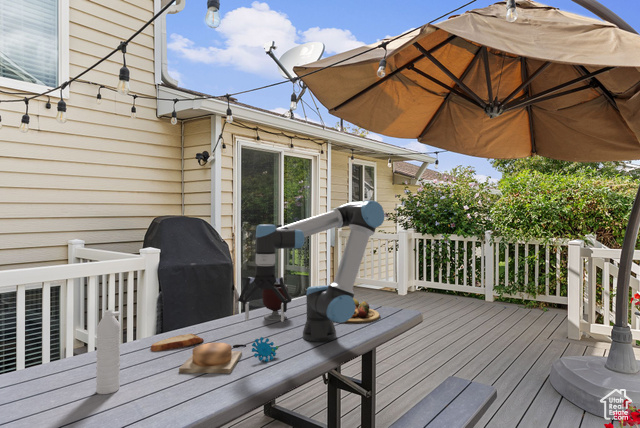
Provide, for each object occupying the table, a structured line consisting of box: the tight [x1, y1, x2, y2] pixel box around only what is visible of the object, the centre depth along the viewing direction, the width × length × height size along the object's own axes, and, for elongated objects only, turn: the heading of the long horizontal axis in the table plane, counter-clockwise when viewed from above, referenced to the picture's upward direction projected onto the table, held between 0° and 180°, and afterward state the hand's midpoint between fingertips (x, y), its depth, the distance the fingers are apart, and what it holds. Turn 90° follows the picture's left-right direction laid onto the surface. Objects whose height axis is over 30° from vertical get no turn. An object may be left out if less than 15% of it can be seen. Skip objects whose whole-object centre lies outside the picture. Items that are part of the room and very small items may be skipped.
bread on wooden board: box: [178, 342, 243, 374], centre depth 147 cm, size 18×18×6 cm
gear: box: [251, 336, 279, 363], centre depth 153 cm, size 11×6×10 cm
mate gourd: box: [261, 283, 289, 321], centre depth 214 cm, size 16×14×20 cm
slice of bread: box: [149, 333, 205, 352], centre depth 169 cm, size 18×18×4 cm
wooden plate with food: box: [333, 297, 381, 325], centre depth 218 cm, size 32×32×8 cm
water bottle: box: [95, 309, 121, 395], centre depth 124 cm, size 9×6×25 cm
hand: (264, 320), depth 152 cm, fingers open, 13 cm apart
